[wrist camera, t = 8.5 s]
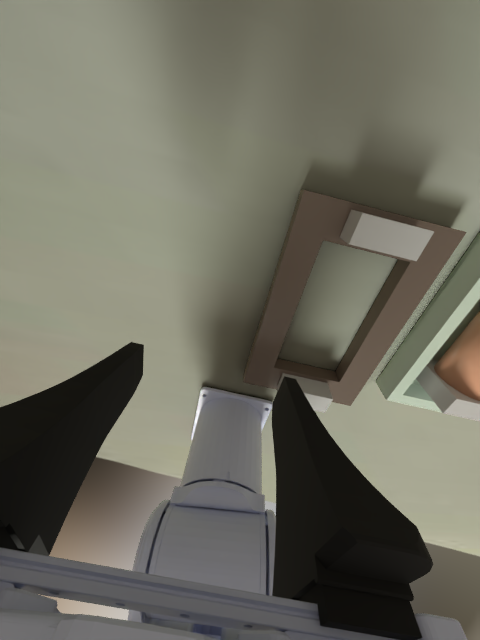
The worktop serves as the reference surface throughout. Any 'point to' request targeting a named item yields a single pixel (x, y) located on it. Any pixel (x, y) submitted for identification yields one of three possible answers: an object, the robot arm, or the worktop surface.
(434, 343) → the parts tray
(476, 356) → the fuse
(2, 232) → the worktop surface
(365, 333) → the frame
